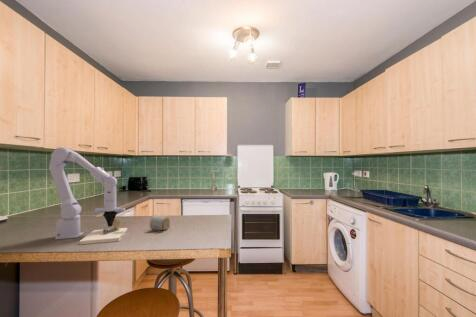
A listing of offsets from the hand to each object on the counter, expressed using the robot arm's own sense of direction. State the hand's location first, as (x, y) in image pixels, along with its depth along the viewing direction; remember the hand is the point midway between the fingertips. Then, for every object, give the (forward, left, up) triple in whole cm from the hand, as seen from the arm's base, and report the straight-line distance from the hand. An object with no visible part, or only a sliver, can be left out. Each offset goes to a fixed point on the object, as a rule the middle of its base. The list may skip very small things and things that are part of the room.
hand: (110, 226), depth 122 cm
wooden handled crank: (+1, -4, -2) cm, 5 cm away
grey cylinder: (+25, 0, -4) cm, 25 cm away
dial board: (0, -7, -3) cm, 8 cm away
